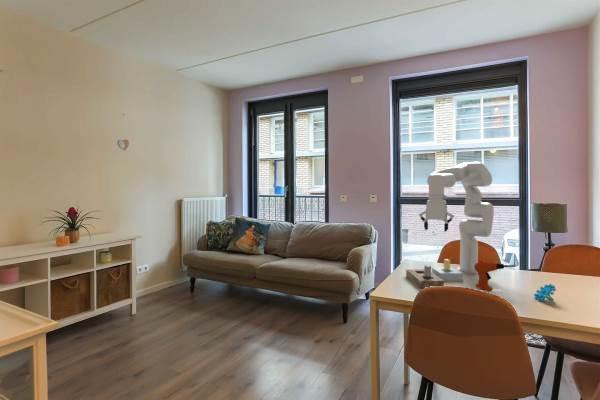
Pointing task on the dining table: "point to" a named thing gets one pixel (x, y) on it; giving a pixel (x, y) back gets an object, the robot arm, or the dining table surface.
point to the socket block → (448, 274)
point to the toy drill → (484, 276)
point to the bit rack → (419, 280)
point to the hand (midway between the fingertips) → (435, 230)
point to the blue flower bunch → (545, 293)
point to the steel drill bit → (427, 272)
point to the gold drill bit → (446, 265)
